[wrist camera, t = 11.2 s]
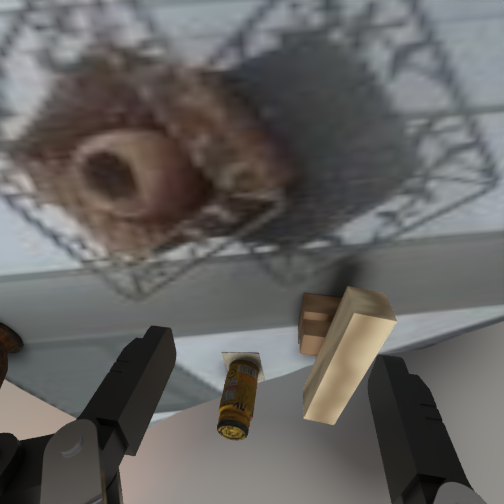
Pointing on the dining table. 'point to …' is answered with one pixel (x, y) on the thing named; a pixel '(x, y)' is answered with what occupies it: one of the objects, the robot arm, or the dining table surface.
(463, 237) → the dining table surface
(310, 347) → the stair steps
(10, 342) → the pitcher
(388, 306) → the batten
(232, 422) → the condiment
